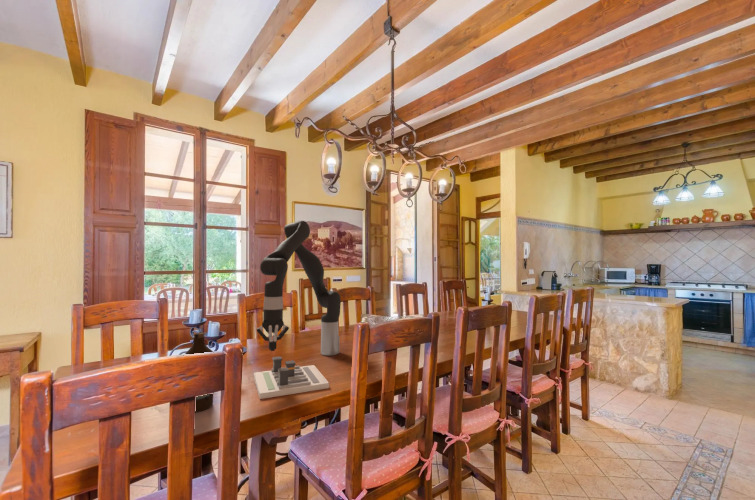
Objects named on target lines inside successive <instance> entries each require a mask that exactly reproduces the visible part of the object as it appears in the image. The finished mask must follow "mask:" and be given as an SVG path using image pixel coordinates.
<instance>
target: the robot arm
mask: <svg viewBox="0 0 755 500" xmlns="http://www.w3.org/2000/svg"><path fill="white" fill-rule="evenodd" d="M283 231H284V235H285V238H286V239H285V240H282V241H281V243H279V245H277V247H276V249H275V250H274V251H273V252H271V253H269V254H268V255H267V256H265V257H264V258H263V259H262V261H261V262H260V266H259V269H260V272H261V273H262V274H263V275H264V276H275V279H274V280H272V281H271V280H270V281H267V282H265V284H264V298H263V310H262V311H263V313H262V315H263V316H262V322H261V325H260V326H259V327H257V328H256V332H257V333H258V334H259V335H260V336H261V337H262V339H263V340H264V341H265V342H268V349H269V350H270V352H275V351H276V349H277V342H278V341H280V340H282V338H283V337H284V336H285V335H286V334H287V332H288V331H289V329H290V327H289V325H286V324H285V322H284V319H283V317H284V314H283V312H284V299H283V297H284V296H283V293H284V292H283V290H284V282H285V279H286V275H287V273H288V269H289V264H288V262H289V260H290V259H291V257H292V256H293V255H294V253H295V254H296V256H297V258H298V260H299V262H300V264H301V266H302V269H303V270H304V272H305V274H306V276H307V278H308V280H309V282H310V285H311V286H312V289H313V292H314V294H315V297H316V299H317V300H316V301H317V302H318V304H319V305H320V306H321V308H324V309H327V312H326V314H323V315H321V319H320V327H321V328H320V354H321V355H322V356H335V355H339V354H340V339H341V338H340V335H339V319H340V315H341V302H342V301H341V299H342V298H341V295H340V293H339V292H337V291H334V290H328V289H327V287H326V286H325V285H326V284H325V283H324V277H325V269H324V266H323V263H322V262H321V260H320V258H319V257H318V256H317V254H315V253H313V252H312V251H310V250H309V249H307V247H305V246H304V244H303V243H304V242H305V241H306V240H307V239H308V238H309V236H310V234H311V229H310V226H309V224H308V222H306V220H298V221H294V222H291V223H288V224H285V225H284V228H283ZM264 331H265V332H266V333H267V336H266V334H265V333H264ZM278 333H279V334H278Z"/></svg>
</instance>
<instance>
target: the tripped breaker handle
mask: <svg viewBox="0 0 755 500" xmlns="http://www.w3.org/2000/svg"><path fill="white" fill-rule="evenodd" d="M284 364H285V368H288V369H289V372H288V377H292V376H294V370H295V366H296V361H295V360H294V359H293V360H287V361H284Z"/></svg>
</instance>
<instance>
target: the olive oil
mask: <svg viewBox="0 0 755 500" xmlns="http://www.w3.org/2000/svg"><path fill="white" fill-rule="evenodd" d="M192 341H193V343H192V346H191V347H190V348H189V349H188V350H187V351H186V352H185V353H184V354H194V353H204V352H213V350H212V349H211V348H209V347H208V346H207V345H206V344H205V332H195V333H193V340H192ZM213 353H214V352H213ZM213 402H214V393H213V394H207V395H203V396H198V397H196V412H195V413H199V412H203V411H206V410H208V409H209V408H211V407H212V406H213Z"/></svg>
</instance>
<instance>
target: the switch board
mask: <svg viewBox="0 0 755 500" xmlns="http://www.w3.org/2000/svg"><path fill="white" fill-rule="evenodd" d="M271 358H272V359H271V360H272V362H273V363H272V368H271V369H270V370H266V371H265V370H264V371H256V372H253V378H254V379H253V381H254V382H255V383H254V384H255V387H256V391H257V395H258V398H259V400H261V399H269V398H273V397H274V398H276V397H281V396H287V395H294V394H299V393H301V394H302V393H306V392H314V391H319V390H325V389H329V388H330V382H329V381H328V380H327V379H326V377H325V376H324V375H323V374H322V373H321V372H320V370H319V369H318V368H317V367H316V366H315V365H314V364H311V365H303V366H300V365H295V370H294V376H292V377H288V372H289V369H288V368H285V367H282V361H283V357H282V356H273V357H271Z"/></svg>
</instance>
